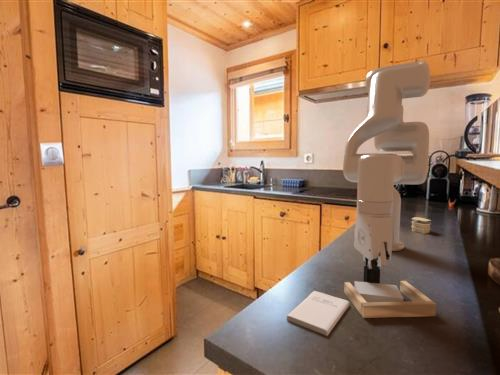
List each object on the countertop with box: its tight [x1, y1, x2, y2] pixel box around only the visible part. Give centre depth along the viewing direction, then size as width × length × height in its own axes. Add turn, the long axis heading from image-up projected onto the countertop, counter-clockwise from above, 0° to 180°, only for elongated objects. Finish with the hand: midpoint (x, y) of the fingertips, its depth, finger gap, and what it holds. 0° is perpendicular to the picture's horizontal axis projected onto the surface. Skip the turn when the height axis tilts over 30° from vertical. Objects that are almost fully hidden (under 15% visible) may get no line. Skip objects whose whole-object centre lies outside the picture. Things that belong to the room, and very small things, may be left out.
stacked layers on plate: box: [410, 216, 432, 234], centre depth 114 cm, size 10×9×6 cm
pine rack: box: [343, 280, 437, 319], centre depth 58 cm, size 10×14×2 cm
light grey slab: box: [353, 280, 405, 303], centre depth 61 cm, size 6×9×2 cm, turn 75°
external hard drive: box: [286, 290, 350, 337], centre depth 55 cm, size 2×8×12 cm
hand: (371, 282), depth 65 cm, fingers closed
